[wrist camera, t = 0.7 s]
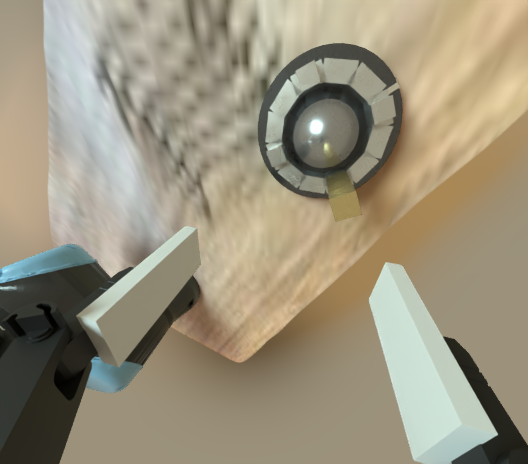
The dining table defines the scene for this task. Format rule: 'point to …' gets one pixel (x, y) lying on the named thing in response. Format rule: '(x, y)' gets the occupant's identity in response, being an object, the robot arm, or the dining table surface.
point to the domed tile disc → (374, 142)
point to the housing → (328, 118)
